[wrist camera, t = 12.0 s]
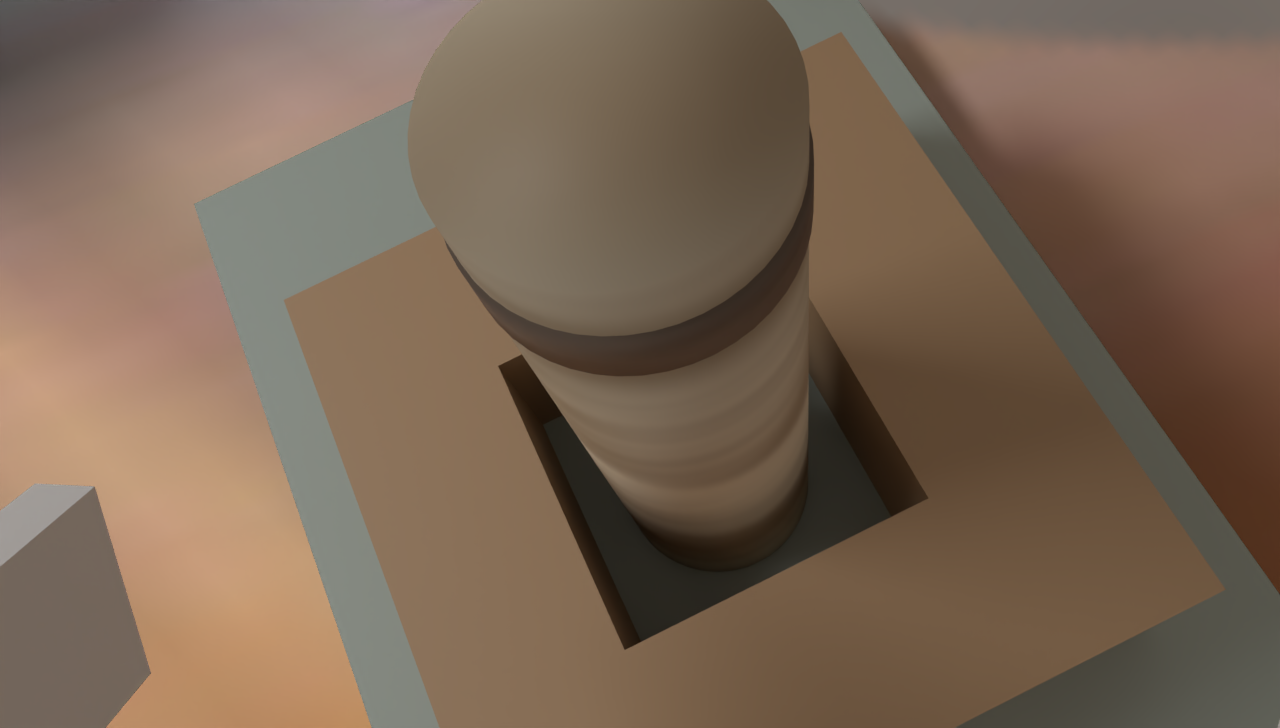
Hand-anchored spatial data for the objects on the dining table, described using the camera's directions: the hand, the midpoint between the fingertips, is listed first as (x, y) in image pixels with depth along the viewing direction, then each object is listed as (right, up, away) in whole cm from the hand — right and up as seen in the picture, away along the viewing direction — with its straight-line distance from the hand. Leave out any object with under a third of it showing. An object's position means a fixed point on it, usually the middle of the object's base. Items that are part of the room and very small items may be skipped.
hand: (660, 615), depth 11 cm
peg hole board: (+2, 0, +13) cm, 13 cm away
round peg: (+2, 0, +12) cm, 12 cm away
